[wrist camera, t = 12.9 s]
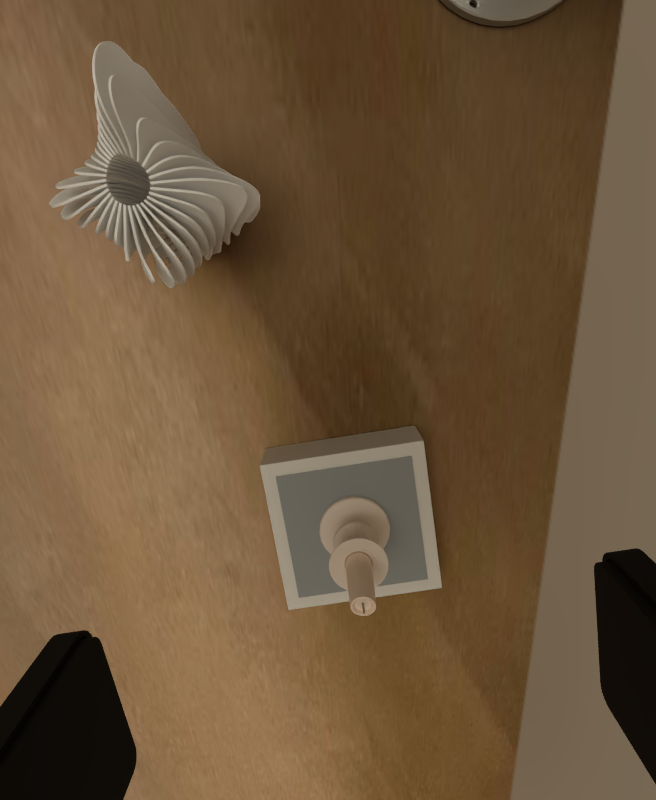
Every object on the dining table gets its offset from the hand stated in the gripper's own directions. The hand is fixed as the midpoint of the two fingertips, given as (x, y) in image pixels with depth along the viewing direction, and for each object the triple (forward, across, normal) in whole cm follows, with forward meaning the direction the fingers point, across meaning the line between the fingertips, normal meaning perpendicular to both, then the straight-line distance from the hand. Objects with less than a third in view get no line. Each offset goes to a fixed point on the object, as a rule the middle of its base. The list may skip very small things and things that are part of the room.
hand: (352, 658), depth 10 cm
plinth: (+32, +1, +13) cm, 34 cm away
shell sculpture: (+33, +8, -12) cm, 36 cm away
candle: (+28, +1, +12) cm, 31 cm away
